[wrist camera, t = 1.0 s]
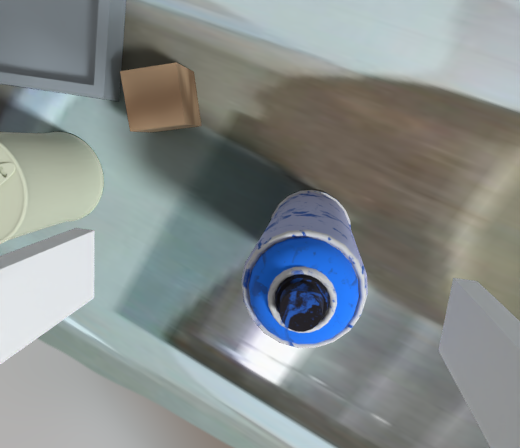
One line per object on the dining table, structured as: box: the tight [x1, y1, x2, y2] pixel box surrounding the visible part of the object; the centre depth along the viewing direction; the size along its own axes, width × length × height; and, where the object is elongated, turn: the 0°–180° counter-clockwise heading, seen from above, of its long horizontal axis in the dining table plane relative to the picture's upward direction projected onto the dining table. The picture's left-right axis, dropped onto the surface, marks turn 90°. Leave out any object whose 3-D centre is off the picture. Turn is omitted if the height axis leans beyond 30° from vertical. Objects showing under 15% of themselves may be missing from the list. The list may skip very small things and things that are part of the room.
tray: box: [0, 0, 126, 101], centre depth 39 cm, size 17×13×3 cm
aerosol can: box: [242, 190, 368, 348], centre depth 31 cm, size 8×8×20 cm
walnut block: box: [120, 63, 201, 132], centre depth 37 cm, size 5×5×5 cm
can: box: [0, 132, 104, 244], centre depth 37 cm, size 9×9×12 cm
